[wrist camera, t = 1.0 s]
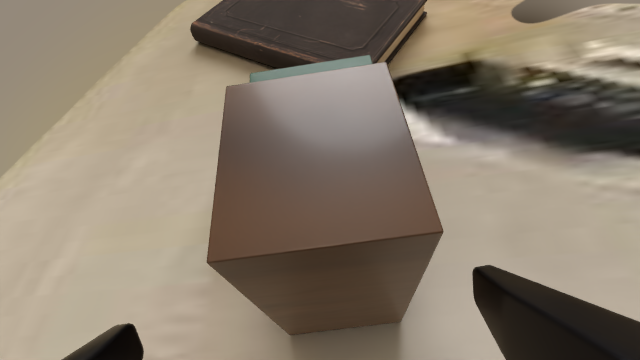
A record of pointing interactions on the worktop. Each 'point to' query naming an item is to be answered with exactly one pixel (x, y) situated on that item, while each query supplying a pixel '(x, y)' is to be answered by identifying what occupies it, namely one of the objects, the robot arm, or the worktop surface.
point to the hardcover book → (309, 29)
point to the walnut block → (321, 200)
